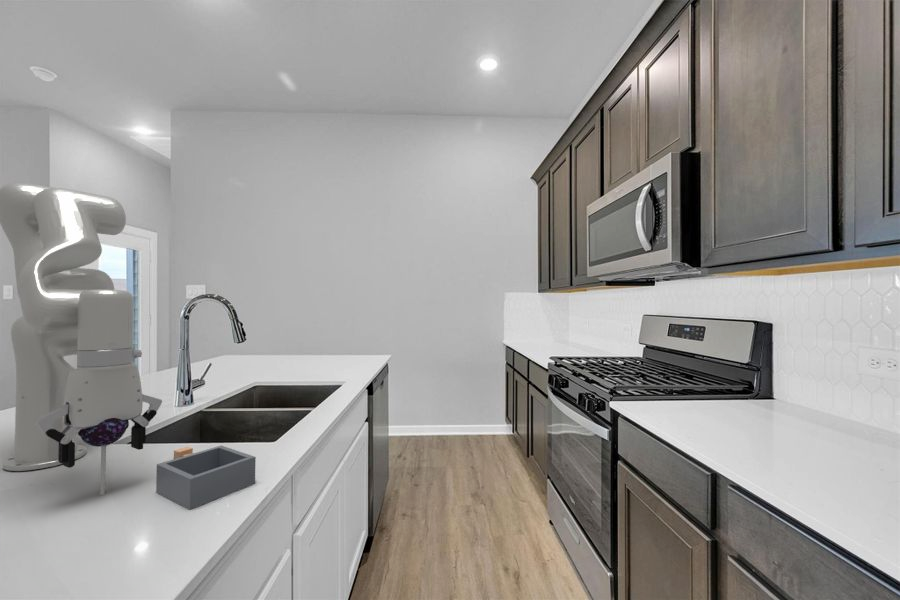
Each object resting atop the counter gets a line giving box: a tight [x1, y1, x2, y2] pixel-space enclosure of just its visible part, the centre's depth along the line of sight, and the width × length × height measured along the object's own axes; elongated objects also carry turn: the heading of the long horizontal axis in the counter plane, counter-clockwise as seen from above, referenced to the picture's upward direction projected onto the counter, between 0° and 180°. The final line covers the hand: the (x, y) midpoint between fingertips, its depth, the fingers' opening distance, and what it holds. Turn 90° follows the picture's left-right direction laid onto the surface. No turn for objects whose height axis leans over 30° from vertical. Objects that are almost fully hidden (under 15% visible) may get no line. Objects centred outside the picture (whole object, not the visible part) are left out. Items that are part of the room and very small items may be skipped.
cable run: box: [173, 446, 195, 459], centre depth 83 cm, size 16×4×2 cm, turn 43°
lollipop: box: [78, 418, 130, 496], centre depth 71 cm, size 7×7×15 cm
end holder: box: [155, 445, 256, 511], centre depth 74 cm, size 12×12×5 cm
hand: (104, 456), depth 71 cm, fingers open, 9 cm apart
